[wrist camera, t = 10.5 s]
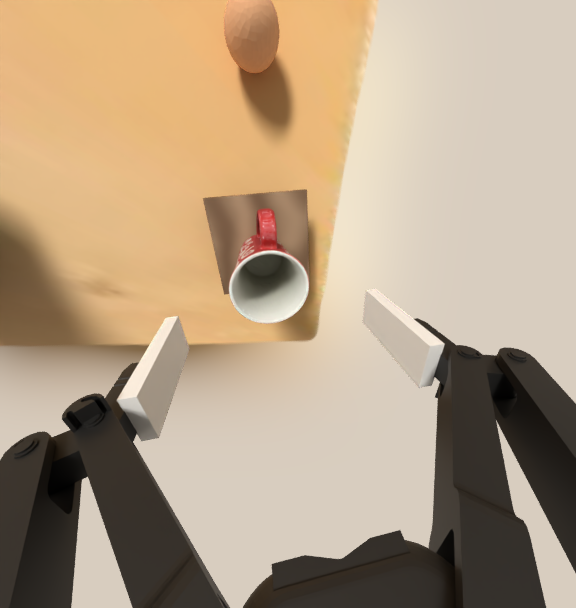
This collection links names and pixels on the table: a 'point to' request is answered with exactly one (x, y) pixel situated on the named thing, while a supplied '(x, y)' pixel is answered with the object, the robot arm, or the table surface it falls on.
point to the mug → (267, 276)
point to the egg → (251, 33)
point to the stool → (242, 225)
